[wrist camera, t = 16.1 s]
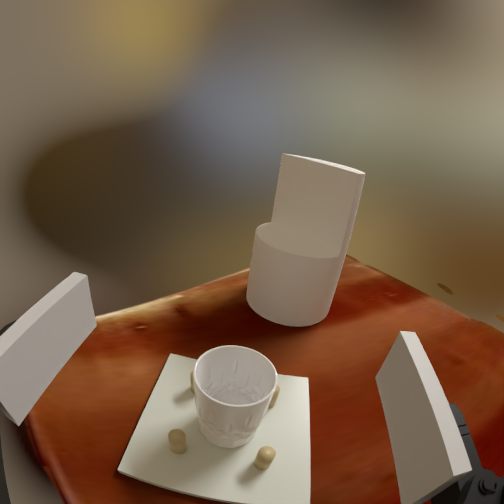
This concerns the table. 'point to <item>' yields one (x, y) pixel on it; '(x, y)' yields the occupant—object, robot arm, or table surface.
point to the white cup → (232, 393)
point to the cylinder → (303, 241)
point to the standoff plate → (219, 458)
